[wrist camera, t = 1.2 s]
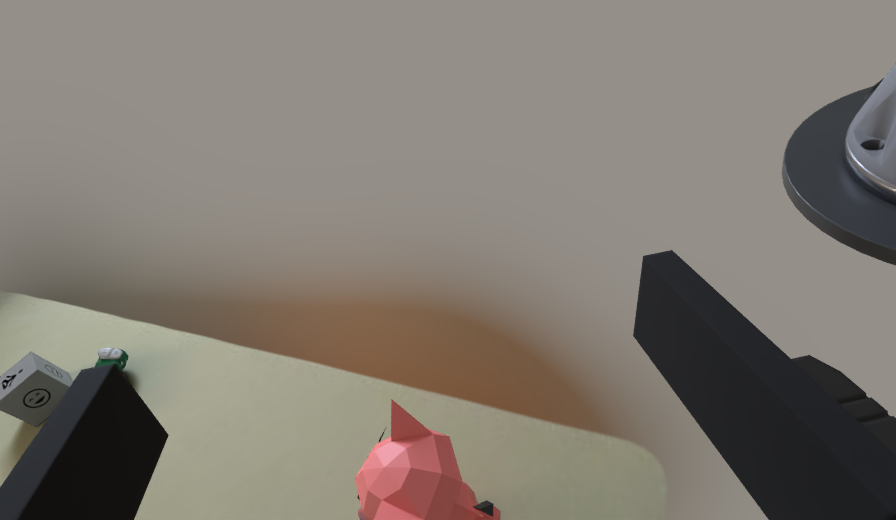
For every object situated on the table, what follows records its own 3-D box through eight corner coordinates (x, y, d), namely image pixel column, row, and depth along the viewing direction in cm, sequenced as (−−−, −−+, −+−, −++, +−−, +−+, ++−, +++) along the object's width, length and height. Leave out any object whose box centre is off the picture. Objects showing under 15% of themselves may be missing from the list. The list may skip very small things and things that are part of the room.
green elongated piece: (97, 444, 49) (96, 419, 46) (55, 439, 48) (50, 412, 44) (136, 369, 56) (137, 342, 52) (99, 363, 55) (98, 334, 51)
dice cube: (30, 406, 55) (-12, 385, 52) (68, 373, 57) (30, 351, 54) (36, 426, 52) (-8, 406, 49) (77, 391, 54) (37, 369, 51)
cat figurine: (421, 475, 33) (335, 395, 25) (515, 470, 31) (455, 381, 23) (407, 598, 28) (295, 547, 20) (519, 602, 26) (444, 547, 18)
